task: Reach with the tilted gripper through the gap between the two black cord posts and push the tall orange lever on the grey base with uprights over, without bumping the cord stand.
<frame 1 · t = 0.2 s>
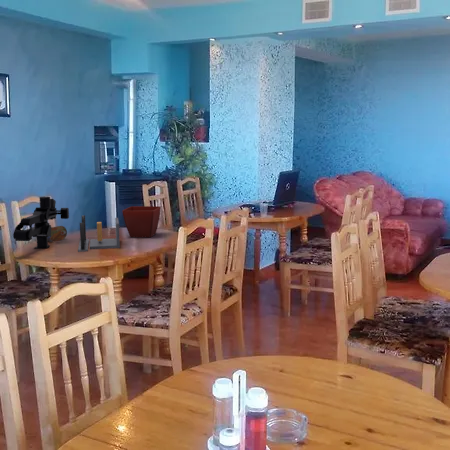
hand: (57, 211, 356), 16 cm above the table, tool horizontal, fingers open, 9 cm apart
cord stand: (83, 246, 338), on the table
plant pot: (142, 236, 368), on the table
tin: (55, 241, 355), on the table
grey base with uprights: (100, 245, 340), on the table
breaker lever: (99, 232, 339), point 7 cm above the table, hinge at 0.0°
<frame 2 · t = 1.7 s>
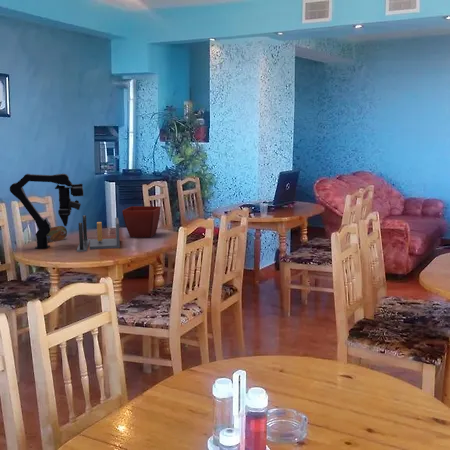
hand: (66, 225, 335), 12 cm above the table, tool pointing down, fingers open, 7 cm apart
nothing on the table moved.
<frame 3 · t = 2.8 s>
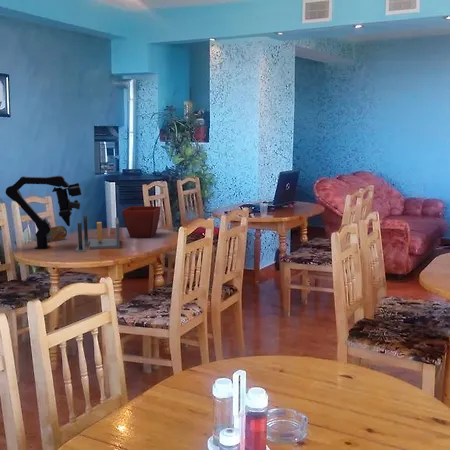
hand: (68, 226, 335), 11 cm above the table, tool pointing down, fingers closed
nothing on the table moved.
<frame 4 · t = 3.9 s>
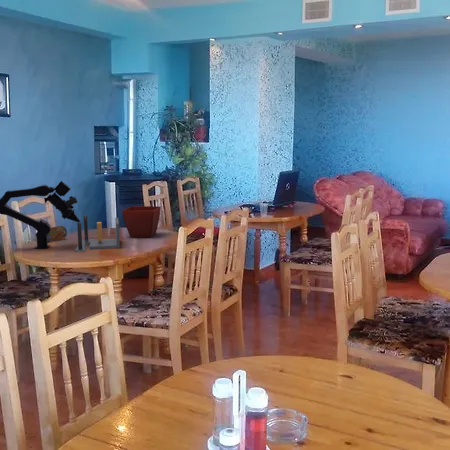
hand: (79, 221, 336), 14 cm above the table, tool tilted 45°, fingers closed
nothing on the table moved.
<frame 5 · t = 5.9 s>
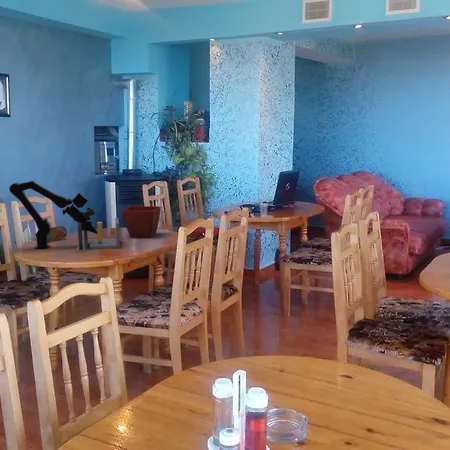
hand: (97, 233, 338), 7 cm above the table, tool tilted 45°, fingers closed, pressing on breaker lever
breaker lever: (99, 232, 339), point 7 cm above the table, hinge at 1.1°, touching gripper
everything else where it was.
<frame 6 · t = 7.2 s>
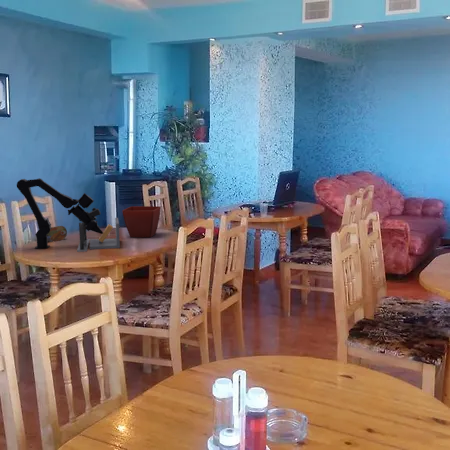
hand: (102, 233, 339), 7 cm above the table, tool tilted 45°, fingers closed
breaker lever: (105, 234, 339), point 6 cm above the table, hinge at 36.5°
everything else where it was.
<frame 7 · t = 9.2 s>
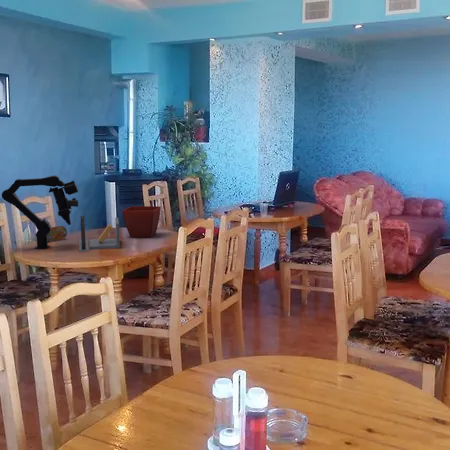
hand: (69, 224, 335), 12 cm above the table, tool tilted 15°, fingers closed
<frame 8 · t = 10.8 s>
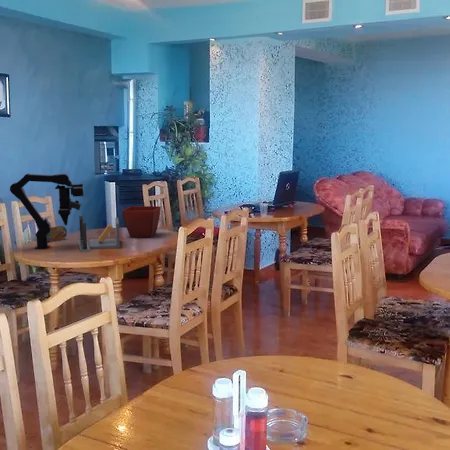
hand: (65, 225, 334), 12 cm above the table, tool pointing down, fingers closed
nothing on the table moved.
at the end: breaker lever at +37° (first picture: +0°); cord stand moved 0.2 cm from its start; cord stand tilted 0° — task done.
